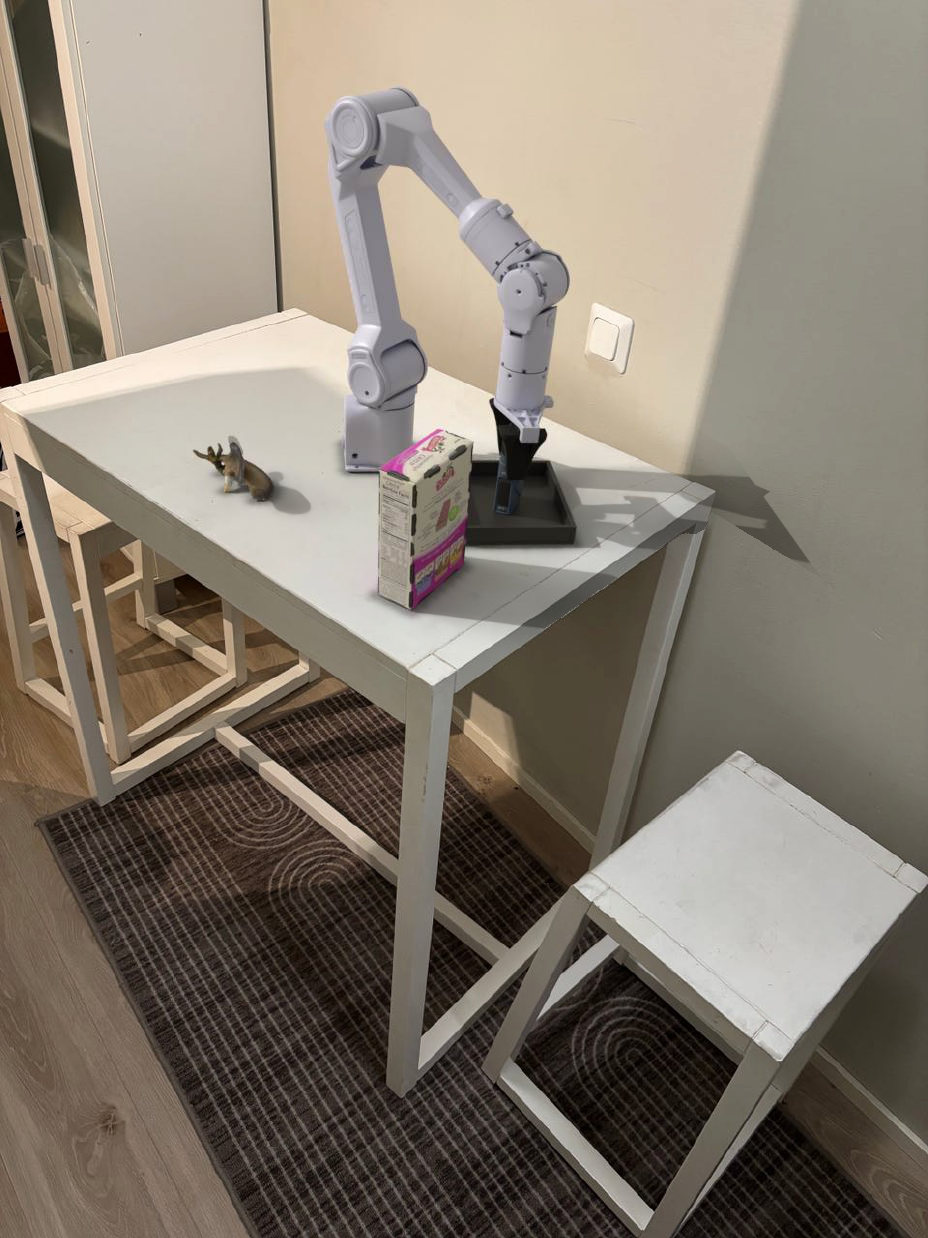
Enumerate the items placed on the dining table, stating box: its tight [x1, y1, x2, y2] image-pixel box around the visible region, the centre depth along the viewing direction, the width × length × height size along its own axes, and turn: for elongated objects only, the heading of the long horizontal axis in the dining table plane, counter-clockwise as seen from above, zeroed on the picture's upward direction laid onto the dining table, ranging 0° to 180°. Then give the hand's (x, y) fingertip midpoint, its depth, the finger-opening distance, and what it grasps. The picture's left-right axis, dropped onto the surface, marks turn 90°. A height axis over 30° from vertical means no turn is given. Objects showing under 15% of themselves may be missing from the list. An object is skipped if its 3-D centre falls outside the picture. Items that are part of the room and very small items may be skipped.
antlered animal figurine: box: [192, 435, 275, 502], centre depth 120 cm, size 8×7×9 cm
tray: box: [465, 459, 578, 546], centre depth 122 cm, size 14×16×2 cm
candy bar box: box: [377, 428, 475, 611], centre depth 104 cm, size 11×5×16 cm, turn 148°
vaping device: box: [494, 423, 524, 515], centre depth 119 cm, size 3×5×12 cm, turn 158°
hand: (511, 467), depth 119 cm, fingers closed on vaping device, 5 cm apart
